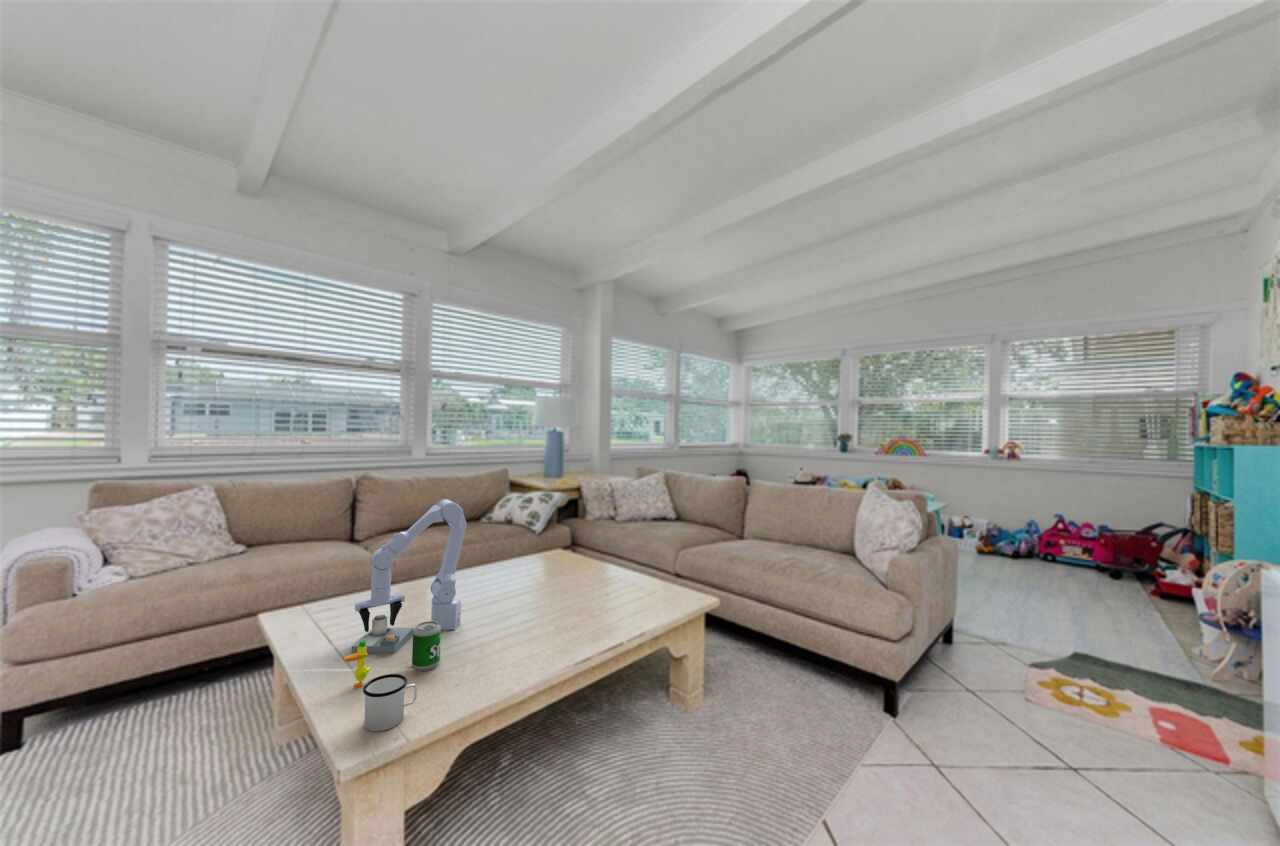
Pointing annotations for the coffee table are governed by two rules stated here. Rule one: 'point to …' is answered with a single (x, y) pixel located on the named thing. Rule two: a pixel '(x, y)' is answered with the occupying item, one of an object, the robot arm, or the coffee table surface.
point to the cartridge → (379, 625)
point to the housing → (380, 645)
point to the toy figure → (359, 663)
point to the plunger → (390, 638)
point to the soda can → (426, 646)
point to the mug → (385, 701)
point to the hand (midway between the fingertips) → (379, 627)
